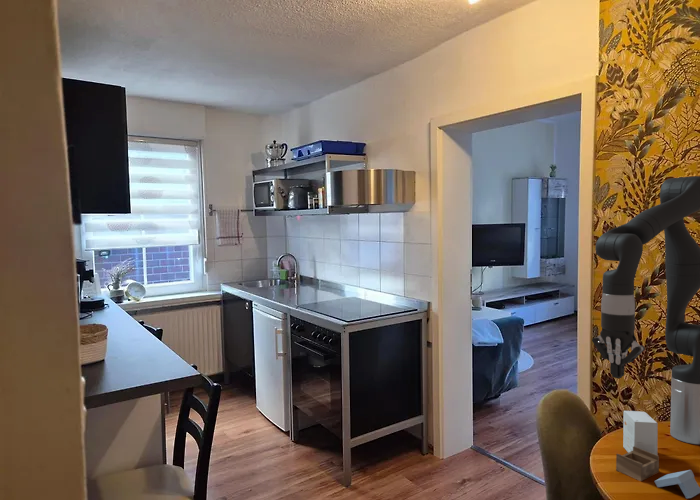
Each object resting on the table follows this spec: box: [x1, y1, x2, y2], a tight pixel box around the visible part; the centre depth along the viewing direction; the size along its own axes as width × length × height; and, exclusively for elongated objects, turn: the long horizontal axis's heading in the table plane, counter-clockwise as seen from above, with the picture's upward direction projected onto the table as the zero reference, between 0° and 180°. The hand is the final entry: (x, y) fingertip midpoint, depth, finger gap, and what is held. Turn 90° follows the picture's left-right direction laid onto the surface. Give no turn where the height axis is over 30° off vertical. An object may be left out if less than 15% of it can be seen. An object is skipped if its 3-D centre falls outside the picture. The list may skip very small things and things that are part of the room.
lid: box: [654, 469, 700, 500], centre depth 109 cm, size 6×6×5 cm
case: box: [615, 446, 660, 482], centre depth 117 cm, size 8×6×4 cm
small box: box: [622, 410, 659, 455], centre depth 125 cm, size 8×6×10 cm
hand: (617, 377), depth 121 cm, fingers closed
